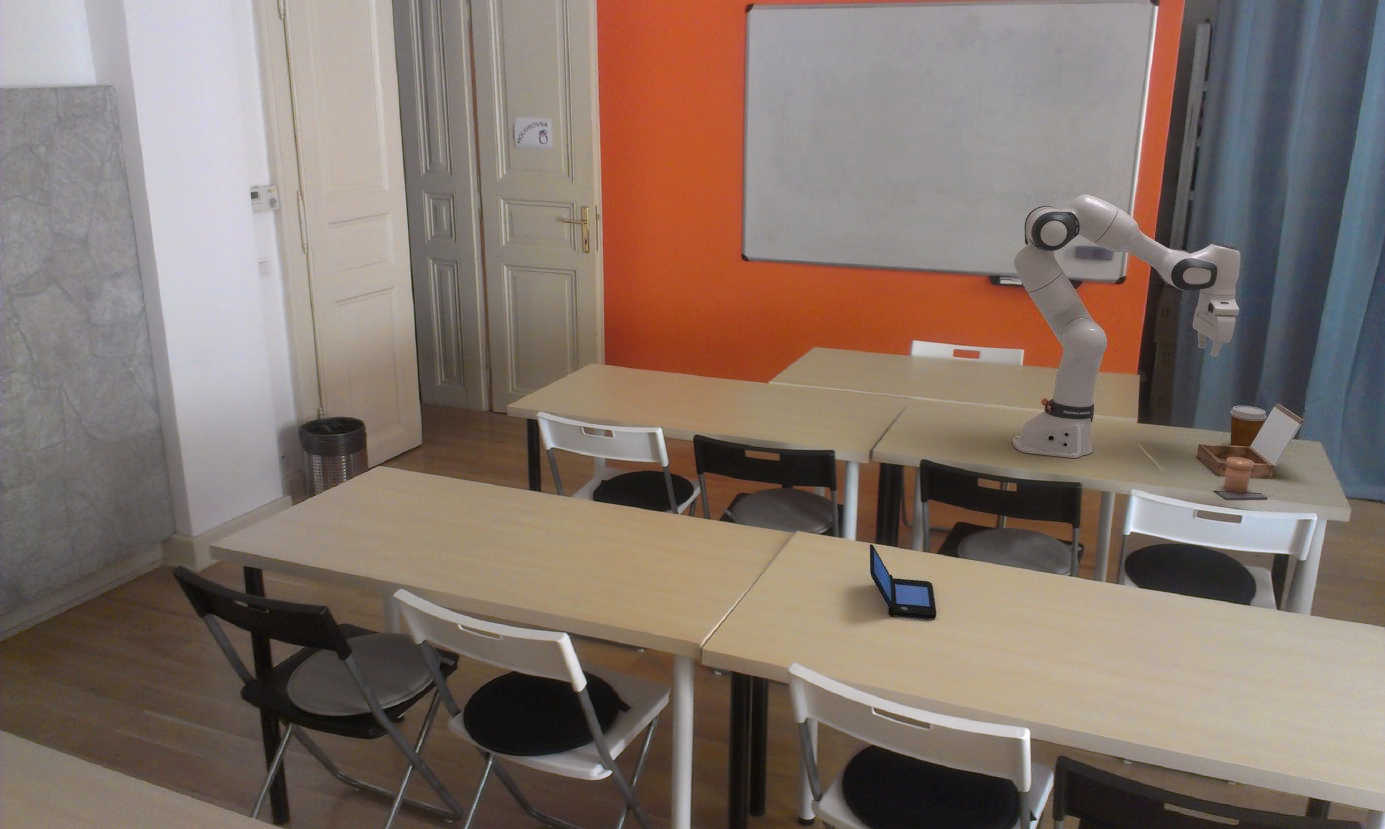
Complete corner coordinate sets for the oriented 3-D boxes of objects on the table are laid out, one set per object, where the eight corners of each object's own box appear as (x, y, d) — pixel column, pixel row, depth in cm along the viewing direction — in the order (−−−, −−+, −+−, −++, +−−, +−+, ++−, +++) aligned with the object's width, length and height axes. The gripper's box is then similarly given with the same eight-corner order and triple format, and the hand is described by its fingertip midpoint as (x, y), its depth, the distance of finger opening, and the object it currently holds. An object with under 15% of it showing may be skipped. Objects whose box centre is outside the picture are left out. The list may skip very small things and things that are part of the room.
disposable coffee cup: (1252, 444, 308) (1259, 405, 305) (1265, 454, 299) (1273, 415, 295) (1219, 442, 309) (1225, 404, 305) (1231, 453, 300) (1238, 413, 296)
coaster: (1225, 499, 264) (1226, 497, 264) (1203, 484, 275) (1203, 482, 274) (1267, 499, 265) (1267, 497, 264) (1242, 484, 275) (1243, 482, 275)
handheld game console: (936, 622, 200) (940, 579, 197) (867, 616, 202) (870, 573, 199) (931, 586, 215) (935, 545, 212) (866, 581, 217) (869, 540, 214)
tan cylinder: (1227, 493, 267) (1232, 464, 264) (1217, 484, 273) (1222, 456, 271) (1252, 494, 266) (1258, 465, 264) (1243, 485, 272) (1248, 457, 270)
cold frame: (1216, 478, 279) (1219, 462, 278) (1196, 458, 294) (1198, 444, 293) (1270, 481, 278) (1273, 465, 276) (1247, 461, 293) (1250, 446, 292)
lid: (1301, 419, 272) (1305, 421, 272) (1276, 402, 287) (1279, 404, 287) (1273, 465, 276) (1277, 466, 276) (1250, 446, 292) (1253, 447, 292)
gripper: (1191, 296, 293) (1183, 343, 297) (1217, 309, 274) (1208, 360, 278) (1214, 296, 293) (1206, 344, 297) (1242, 310, 273) (1233, 361, 277)
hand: (1207, 352), depth 287 cm, fingers open, 8 cm apart
